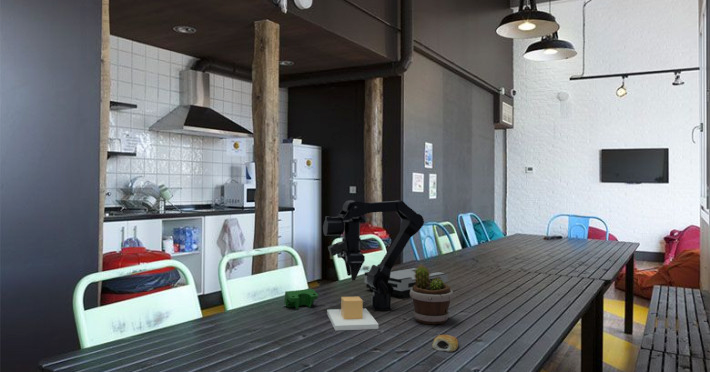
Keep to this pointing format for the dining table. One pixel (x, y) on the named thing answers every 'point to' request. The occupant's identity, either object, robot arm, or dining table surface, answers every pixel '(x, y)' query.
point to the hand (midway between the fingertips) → (351, 277)
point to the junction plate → (352, 321)
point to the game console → (406, 281)
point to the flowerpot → (430, 298)
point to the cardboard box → (351, 307)
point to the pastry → (445, 343)
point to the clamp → (300, 298)
